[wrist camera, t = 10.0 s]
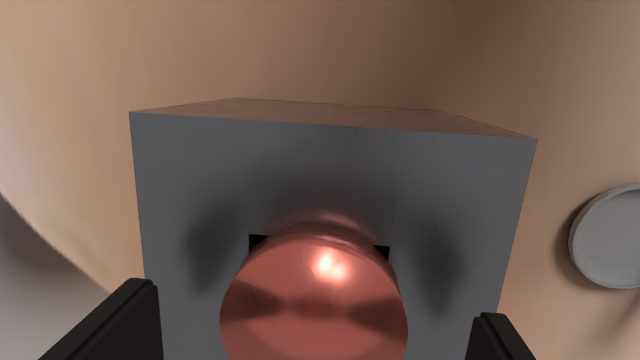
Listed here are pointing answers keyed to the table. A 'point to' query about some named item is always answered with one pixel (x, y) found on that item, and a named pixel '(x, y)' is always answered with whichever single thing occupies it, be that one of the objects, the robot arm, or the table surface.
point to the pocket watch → (609, 238)
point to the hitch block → (326, 206)
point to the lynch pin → (314, 300)
